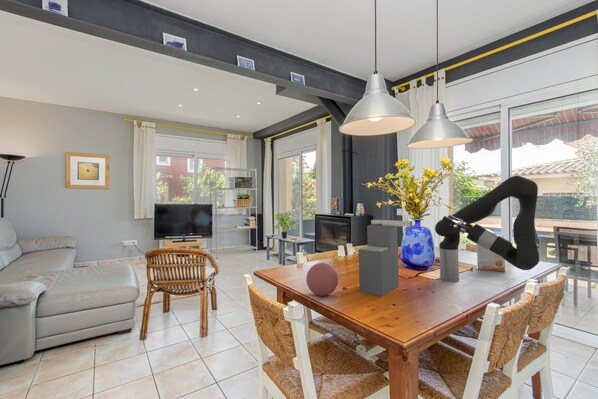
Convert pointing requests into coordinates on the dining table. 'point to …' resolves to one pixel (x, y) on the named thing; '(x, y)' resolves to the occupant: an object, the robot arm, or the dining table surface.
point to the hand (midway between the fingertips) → (445, 217)
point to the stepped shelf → (379, 261)
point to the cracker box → (489, 260)
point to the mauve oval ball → (322, 279)
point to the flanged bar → (391, 223)
